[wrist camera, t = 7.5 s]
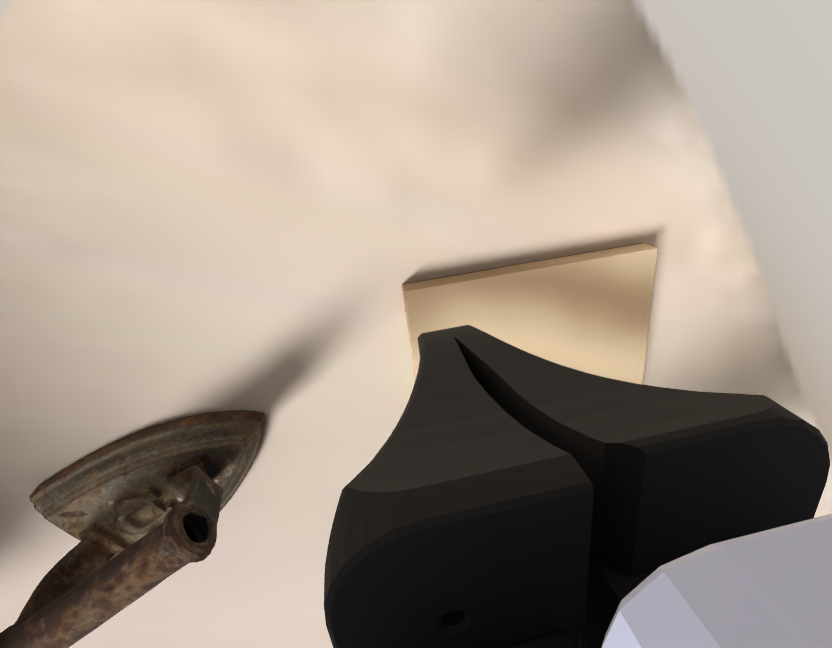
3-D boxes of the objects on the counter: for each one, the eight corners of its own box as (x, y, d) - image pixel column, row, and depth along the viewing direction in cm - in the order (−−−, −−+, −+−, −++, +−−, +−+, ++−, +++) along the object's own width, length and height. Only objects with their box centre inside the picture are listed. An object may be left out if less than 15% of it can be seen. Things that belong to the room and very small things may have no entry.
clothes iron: (29, 490, 22) (-153, 678, 12) (216, 344, 23) (178, 414, 14) (140, 571, 24) (55, 780, 15) (304, 433, 26) (322, 545, 16)
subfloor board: (618, 499, 29) (627, 511, 28) (437, 542, 27) (441, 556, 26) (644, 243, 21) (657, 248, 21) (401, 284, 20) (405, 291, 19)
